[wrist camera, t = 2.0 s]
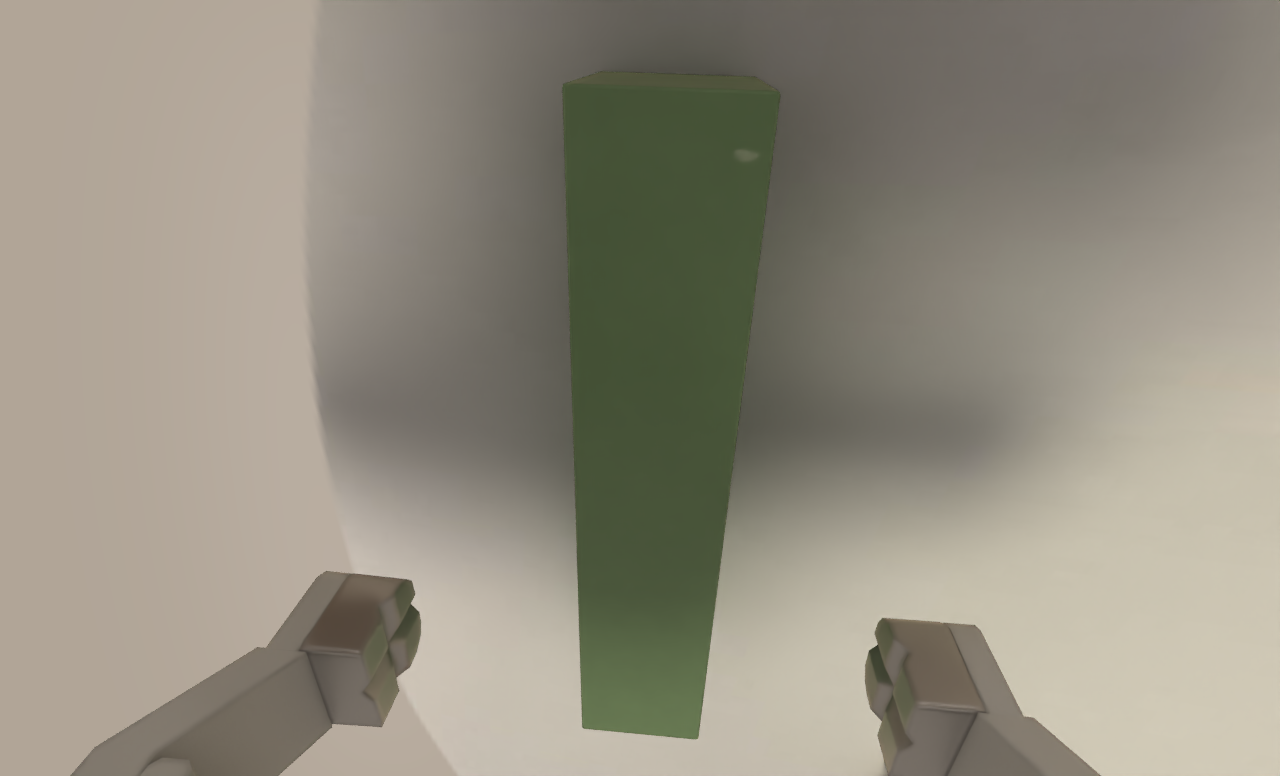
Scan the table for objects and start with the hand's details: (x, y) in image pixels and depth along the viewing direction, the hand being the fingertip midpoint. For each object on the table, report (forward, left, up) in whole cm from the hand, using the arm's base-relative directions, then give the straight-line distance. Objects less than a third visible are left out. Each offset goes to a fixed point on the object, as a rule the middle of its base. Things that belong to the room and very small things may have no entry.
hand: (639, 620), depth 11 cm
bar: (0, 0, -7) cm, 7 cm away
